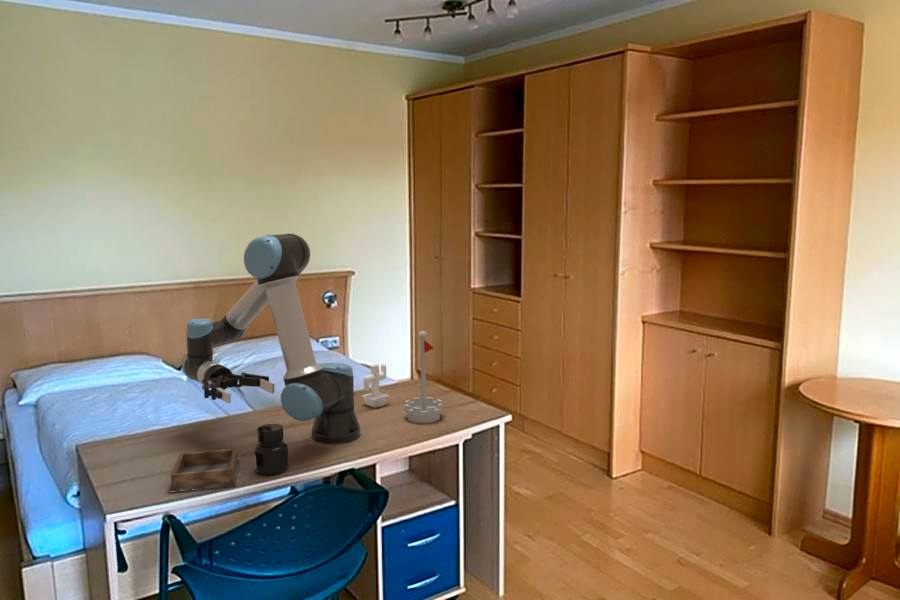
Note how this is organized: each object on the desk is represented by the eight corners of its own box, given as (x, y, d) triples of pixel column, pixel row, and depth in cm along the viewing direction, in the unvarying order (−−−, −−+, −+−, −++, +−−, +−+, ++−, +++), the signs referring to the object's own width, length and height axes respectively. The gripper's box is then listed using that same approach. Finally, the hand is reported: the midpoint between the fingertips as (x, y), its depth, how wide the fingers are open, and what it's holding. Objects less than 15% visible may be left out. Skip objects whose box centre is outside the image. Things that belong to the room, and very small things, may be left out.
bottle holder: (239, 462, 188) (238, 447, 188) (235, 486, 173) (234, 469, 172) (179, 468, 185) (178, 453, 184) (169, 493, 169) (168, 476, 169)
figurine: (359, 405, 239) (357, 365, 237) (379, 400, 246) (378, 360, 243) (371, 410, 234) (370, 368, 232) (392, 404, 240) (391, 364, 238)
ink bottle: (272, 460, 190) (270, 420, 188) (296, 466, 186) (294, 424, 184) (247, 472, 181) (244, 430, 180) (271, 479, 177) (269, 435, 176)
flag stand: (396, 418, 225) (394, 331, 221) (423, 409, 235) (422, 325, 230) (424, 427, 217) (423, 336, 212) (450, 417, 226) (450, 330, 222)
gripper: (252, 380, 211) (290, 397, 197) (175, 396, 193) (210, 416, 179) (252, 357, 210) (290, 372, 196) (174, 371, 192) (209, 389, 178)
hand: (252, 393), depth 187 cm, fingers open, 13 cm apart
